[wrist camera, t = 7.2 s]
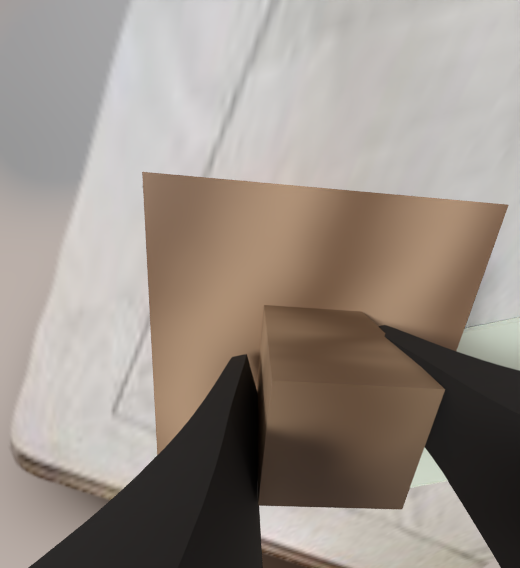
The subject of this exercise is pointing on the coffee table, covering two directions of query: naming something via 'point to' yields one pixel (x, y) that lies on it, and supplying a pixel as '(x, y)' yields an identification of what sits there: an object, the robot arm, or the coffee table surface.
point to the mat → (486, 346)
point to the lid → (311, 322)
